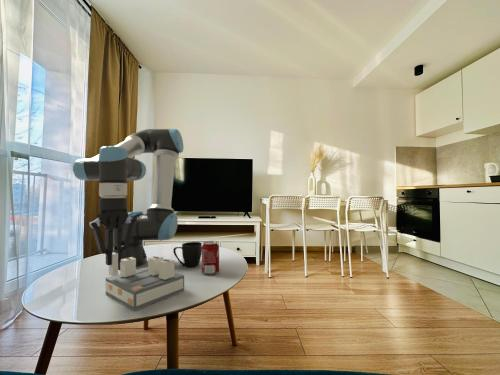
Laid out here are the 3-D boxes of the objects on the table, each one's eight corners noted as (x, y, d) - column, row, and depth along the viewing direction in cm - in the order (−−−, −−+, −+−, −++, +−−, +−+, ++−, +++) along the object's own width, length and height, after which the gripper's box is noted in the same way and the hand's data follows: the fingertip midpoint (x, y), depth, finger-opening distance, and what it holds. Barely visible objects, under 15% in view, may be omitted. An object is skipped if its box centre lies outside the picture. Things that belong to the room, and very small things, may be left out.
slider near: (158, 277, 73) (158, 260, 73) (168, 274, 76) (168, 258, 76) (164, 279, 71) (164, 262, 71) (174, 276, 74) (174, 259, 74)
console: (104, 294, 74) (104, 277, 74) (153, 279, 87) (153, 265, 87) (133, 311, 63) (133, 292, 63) (184, 291, 76) (184, 274, 76)
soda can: (215, 276, 89) (215, 244, 90) (198, 275, 91) (198, 243, 91) (221, 270, 96) (221, 240, 96) (205, 269, 97) (205, 240, 98)
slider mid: (148, 273, 77) (148, 257, 77) (158, 271, 80) (158, 255, 80) (153, 275, 75) (153, 259, 75) (163, 272, 78) (163, 256, 78)
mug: (170, 266, 102) (170, 244, 102) (197, 262, 109) (197, 241, 109) (176, 271, 95) (176, 247, 95) (204, 266, 102) (204, 244, 102)
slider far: (120, 275, 76) (120, 258, 76) (131, 272, 78) (131, 256, 79) (124, 277, 74) (124, 260, 74) (135, 274, 77) (135, 257, 77)
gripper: (94, 197, 66) (94, 284, 65) (140, 196, 76) (140, 271, 76) (84, 197, 70) (84, 278, 70) (129, 196, 81) (129, 267, 80)
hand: (113, 274), depth 73 cm, fingers closed
